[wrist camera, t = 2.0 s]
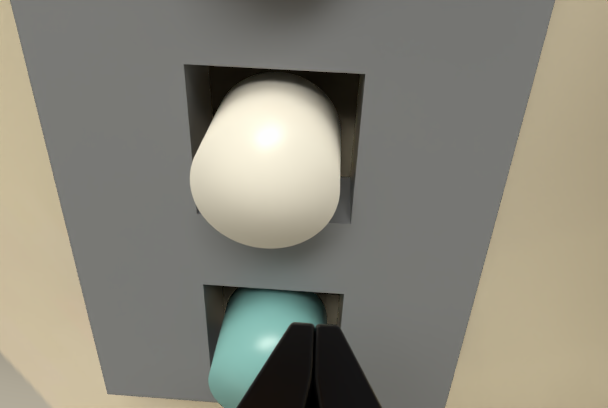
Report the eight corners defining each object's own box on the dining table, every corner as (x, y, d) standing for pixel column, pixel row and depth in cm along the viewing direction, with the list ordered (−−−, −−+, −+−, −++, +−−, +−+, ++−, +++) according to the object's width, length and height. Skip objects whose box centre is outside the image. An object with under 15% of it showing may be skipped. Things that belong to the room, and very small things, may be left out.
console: (605, -377, 12) (672, -436, 10) (432, 362, 25) (441, 419, 23) (-14, -392, 13) (-102, -452, 10) (131, 340, 26) (107, 394, 23)
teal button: (329, 281, 21) (327, 350, 18) (324, 354, 23) (321, 427, 20) (223, 274, 21) (204, 341, 18) (228, 347, 23) (211, 418, 20)
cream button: (345, 75, 16) (345, 123, 13) (336, 190, 18) (335, 253, 16) (211, 67, 16) (183, 114, 14) (218, 183, 19) (195, 243, 16)
